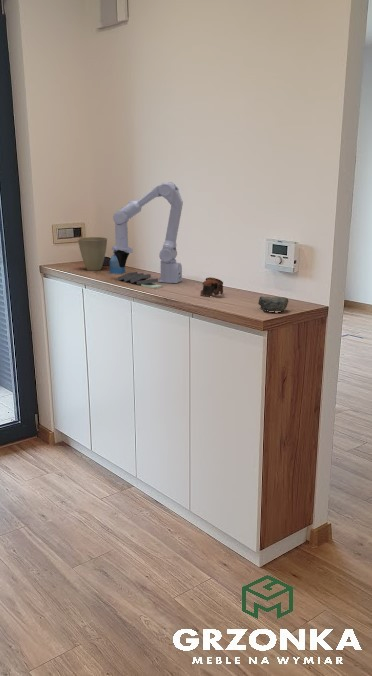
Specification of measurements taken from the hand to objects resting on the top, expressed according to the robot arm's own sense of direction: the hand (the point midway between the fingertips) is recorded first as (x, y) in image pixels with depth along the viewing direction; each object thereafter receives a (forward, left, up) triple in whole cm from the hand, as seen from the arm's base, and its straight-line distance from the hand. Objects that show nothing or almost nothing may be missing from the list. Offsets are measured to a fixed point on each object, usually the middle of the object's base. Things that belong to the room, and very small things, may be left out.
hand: (122, 267), depth 274 cm
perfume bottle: (+12, -18, -6) cm, 23 cm away
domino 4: (-13, +7, -5) cm, 15 cm away
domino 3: (-9, +5, -5) cm, 11 cm away
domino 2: (-4, +3, -5) cm, 7 cm away
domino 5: (-16, +9, -6) cm, 20 cm away
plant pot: (+28, -22, -6) cm, 36 cm away
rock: (-80, +37, -6) cm, 88 cm away
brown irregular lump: (-51, +19, -6) cm, 55 cm away
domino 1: (0, 0, -5) cm, 5 cm away
